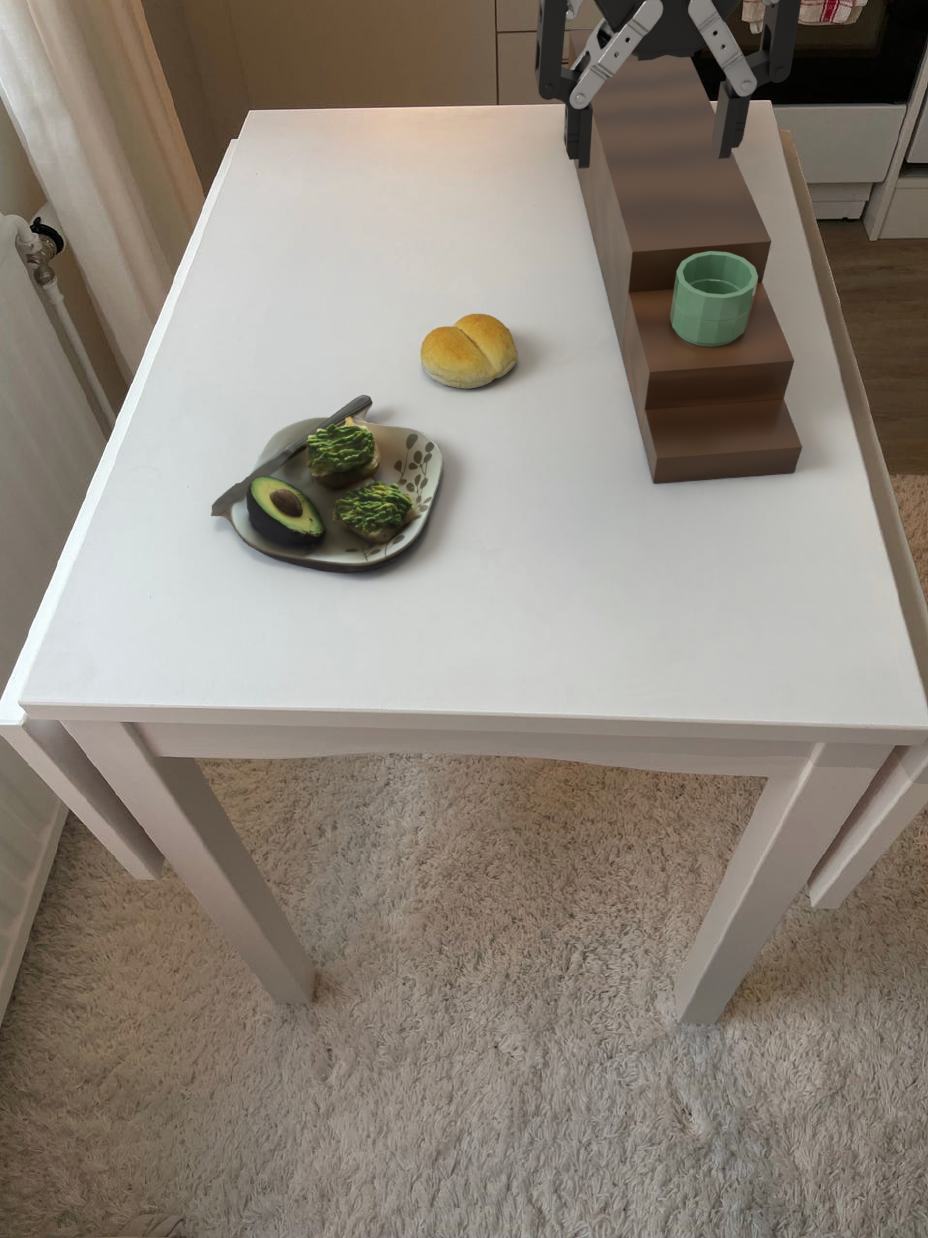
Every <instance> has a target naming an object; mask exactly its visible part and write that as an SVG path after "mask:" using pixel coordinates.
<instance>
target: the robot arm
mask: <svg viewBox="0 0 928 1238" xmlns="http://www.w3.org/2000/svg"><path fill="white" fill-rule="evenodd" d="M585 1H586V0H538V10H537V22H536V23H537V26H536V38H535V39H536V40H535V53H534V71H533V73H534V77H535V81H536V82H535V83H536V85H537V86H536V87H537V90H538V95H539V96H540V98H541V99H543V100H546V101H551V100H553V99H555V100H559V101H561V102H563V103H564V123H563V124H564V126H563V141H564V147H565V150H566V155H567V157H568V160H569V161H574V160H575V161H576V165H577V169H586V168H589V166H590V151H591V134H592V116H593V108H592V104H591V100H592V99H593V97H594V96H595V95H596V93H597V92H598V91H599V89H600V88H601V87H602V85H603V84H604V83H605V81H606V80H607V79H610V78H612V77H613V76H614V75H615V74H616V72H617V71H618V70H619V68H620V67H621V66H622V64H623V63H624V62H625V60H626V59H627V58H628V56H629V55H633V56H636V57H637V59H638V61H643V60H653V59H656V58H659V57H661V56H664V55H670V56H675V57H679V58H682V57H690V58H692V57H695V53H696V52H699V51H700V50H702V49H704V48H705V47H706V46H708V48H709V50H710V52H711V53H712V55H713V56H714V59H715V60H716V62H717V64H718V65H719V67H720V68H721V70H722V71H723V73H724V74H725V76H726V77H725V80H723V81H720V83H719V84H720V85H719V91H718V97H717V103H716V108H715V121H714V127H713V133H712V148H713V150H714V153H715V155H716V158H717V159H724V158H730V155H731V151H732V150H733V149H737V148H739V147H740V146H741V144H742V141H744V135H745V130H746V124H747V118H748V113H749V108H750V103H751V98H752V95H753V93H754V92H755V91H756V90H757V89H758V88H759V87H761V86H763V85H765V84H769V83H770V82H771V83H775V84H779V83H782V82H784V81H785V80H786V79H788V77H789V76H790V74H791V70H792V64H793V58H794V52H795V44H796V38H797V31H798V25H799V19H800V13H801V6H802V2H803V1H802V0H760V1H761V3H762V4H763V5H764V13H763V20H762V28H761V36H760V43H759V50H758V51H755V52H753V53H751V54H749V55H746V56H745V55H744V53H743V51H742V50H741V47H740V46H739V44H738V43H737V41H736V39H735V37H734V36H733V34H732V32H731V30H730V28H729V27H728V25H727V23H726V20H727V19H728V18H729V17H730V15H731V14H732V13H733V12H734V10H735V9H736V8H737V7H738V5H739V4H740V3H741V1H742V0H593V2H594V5H595V6H596V8H597V9H598V11H599V12H600V14H601V15H602V18H601V20H600V21H599V22H598V24H597V25H596V26H595V28H593V29H594V31H593V32H592V33H591V35H590V36H589V38H588V40H587V43H586V47H585V49H584V50H583V52H582V53H581V54H580V56H579V57H578V59H577V60H576V61H575V63H574V64H573V66H572V67H571V68H570V69H568V67H564V66H563V57H564V56H563V55H564V46H565V45H564V43H565V33H566V23H567V22H572V21H574V20H575V19H576V18H577V16H578V15H579V12H580V8H581V6H582V5H583V3H584V2H585Z"/></svg>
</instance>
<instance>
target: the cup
mask: <svg viewBox="0 0 928 1238" xmlns="http://www.w3.org/2000/svg"><path fill="white" fill-rule="evenodd" d="M757 281H758V275H757V272H756V269H755V267H754V266H753V265H752V264H751V263H750V262H748V261H747V260H746V259H745V258H743V257H740V256H737V255H734V254H732V253H728V252H717V251H708V252H703V253H697V254H693V255H692V256H690V257H688V258H687V259H685V260H683V261H682V262H681V264H680V266H679V267H678V269H677V272H676V279H675V285H674V292H673V299H672V306H671V313H670V319H671V323H672V327H673V328H674V329H675V331H676V333H677V334H678V335H679V336H680V337H681V338H682V339H684V340H686V341H688V342H690V343H692V344H696V345H700V346H707V347H714V346H722V345H725V344H728V343H731V342H733V341H734V340H736V339H737V338H738V337H739V336H740V335H741V334H743V333H744V331H745V329H746V326H747V324H748V321H749V316H750V312H751V307H752V303H753V299H754V294H755V290H756V285H757Z"/></svg>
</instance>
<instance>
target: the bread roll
mask: <svg viewBox="0 0 928 1238" xmlns="http://www.w3.org/2000/svg"><path fill="white" fill-rule="evenodd" d="M518 356H519V355H518V350H517V348H516V345H515V341H514V338H513V335H512V333H511V331H510V329H509V328H508V327H507V326H506V325H505V324H504V323H503V322H502V321H501V320H499V319H498V318H496V317H495V316H493V315H490V314H486V313H470V314H466V315H464V316H462V317H461V318H460V319H458V320H457V321H456V322H455V323H454V325H452V326H447V325H446V326H439V327H436V328H435V329H432V330H431V331H430V332H429V333H428V334H427V335H425V337H424V339H423V341H422V343H421V347H420V361H421V366H422V368H423V370H424V372H425V374H426V375H427V376H428V377H429V378H430V379H432V380H433V381H435V382H437V383H439V384H441V385H442V386H448V387H452V388H458V389H467V390H469V389H475V388H480V387H483V386H485V385H488V384H490V383H492V381H493V380H494V379H495V380H496V379H500V378H502V377H503V376H505V375H507V374H508V373H509V372H510V371H511V370H512V369H513V367H514V366H515V365H516V364H517V361H518V359H519V357H518Z"/></svg>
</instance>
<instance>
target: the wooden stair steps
mask: <svg viewBox="0 0 928 1238" xmlns="http://www.w3.org/2000/svg"><path fill="white" fill-rule="evenodd" d="M594 29H595V28H586V29H585V28H584V29H573V30H571V29H570V30H569V32H568V33H569V38H568V61H567V62H568V63H567V64H568V65H567V69H570V68H571V67H572V66H573V64H574V63H575V61H576V60H577V59H578V57H579V56H580V54H581V53H582V52H583V50H584V49H585V47H586V43H587V40H588V38H589V36H590V35H591V33H592V32H593V31H594ZM591 104H592V108H593V116H592V134H591V151H590V166H589V168H586V169H577V165H576V161H575V160H573V162H574V166H575V170H576V174H577V179H578V182H579V187H580V190H581V195H582V199H583V202H584V207H585V211H586V216H587V219H588V223H589V228H590V231H591V236H592V240H593V244H594V248H595V253H596V256H597V257H596V258H597V260H598V265H599V268H600V273H601V277H602V281H603V285H604V288H605V289H604V290H605V293H606V297H607V302H608V305H609V309H610V313H611V318H612V322H613V326H614V330H615V334H616V338H617V343H618V346H619V351H620V354H621V358H622V363H623V367H624V370H625V374H626V379H627V384H628V387H629V391H630V395H631V399H632V403H633V408H634V411H635V416H636V419H637V424H638V428H639V432H640V436H641V440H642V443H643V448H644V452H645V456H646V460H647V464H648V469H649V472H650V473H649V474H650V476H651V480H652V484H662V483H663V484H665V483H677V482H690V481H692V482H693V481H703V480H704V481H705V480H716V479H730V478H743V477H757V476H769V475H782V474H794V473H795V471H796V468H797V466H798V462H799V459H800V456H801V453H802V449H803V445H802V442H801V440H800V437H799V435H798V432H797V429H796V427H795V424H794V421H793V419H792V417H791V414H790V411H789V408H788V406H787V403H786V401H785V395H786V393H787V389H788V385H789V382H790V379H791V374H792V371H793V367H794V364H795V358H794V356H793V354H792V351H791V349H790V346H789V344H788V341H787V339H786V337H785V334H784V331H783V329H782V327H781V325H780V323H779V322H780V321H779V319H778V317H777V315H776V311H775V310H774V307H773V305H772V302H771V300H770V298H769V295H768V293H767V291H766V290H767V289H766V288H765V286H764V283H763V280H764V275H765V271H766V267H767V264H768V263H767V262H768V258H769V253H770V250H771V245H772V239H771V236H770V234H769V232H768V230H767V228H766V225H765V224H764V221H763V219H762V217H761V214H760V212H759V210H758V207H757V205H756V203H755V201H754V198H753V196H752V193H751V191H750V189H749V187H748V185H747V183H746V180H745V178H744V176H743V174H742V171H741V169H740V167H739V164H738V162H737V160H736V158H735V155H734V153H733V151H732V150H731V155H730V158H724V159H717V158H716V155H715V153H714V150H713V148H712V133H713V127H714V121H715V114H716V111H715V110H714V108H713V105H712V103H711V100H710V99H709V97H708V94H707V92H706V90H705V87H704V85H703V83H702V81H701V78H700V75H699V74H698V71H697V69H696V66H695V65H694V63H693V60H692V57H682V58H679V57H675V56H670V55H664V56H661V57H659V58H656V59H653V60H643V61H638V59H637V57H636V56H633V55H629V56H628V58H627V59H626V60H625V62H624V63H623V64H622V66H621V67H620V68H619V70H618V71H617V72H616V74H615V75H614V76H613V77H612V78H610V79H607V80H606V81H605V83H604V84H603V85H602V87H601V88H600V89H599V91H598V92H597V93H596V95H595V96H594V97H593V99H592V100H591ZM708 251H717V252H728V253H732V254H734V255H737V256H740V257H743V258H745V259H746V260H747V261H748V262H750V263H751V264H752V265H753V266H754V267H755V269H756V272H757V275H758V281H757V285H756V290H755V294H754V299H753V303H752V307H751V312H750V316H749V321H748V324H747V326H746V329H745V331H744V333H743V334H741V335H740V336H739V337H738V338H737V339H736V340H734V341H733V342H731V343H728V344H725V345H722V346H714V347H707V346H700V345H696V344H692V343H690V342H688V341H686V340H684V339H682V338H681V337H680V336H679V335H678V334H677V333H676V331H675V329H674V328H673V327H672V323H671V319H670V313H671V306H672V299H673V292H674V285H675V279H676V272H677V269H678V267H679V266H680V264H681V262H682V261H683V260H685V259H687V258H688V257H690V256H692V255H693V254H697V253H703V252H708Z"/></svg>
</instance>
